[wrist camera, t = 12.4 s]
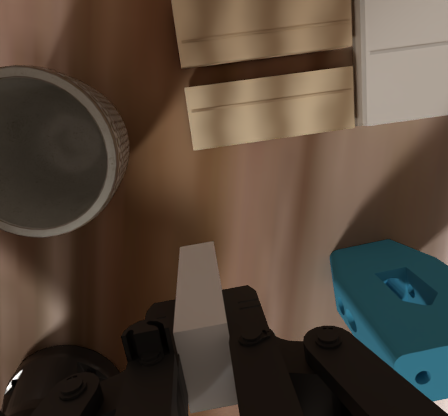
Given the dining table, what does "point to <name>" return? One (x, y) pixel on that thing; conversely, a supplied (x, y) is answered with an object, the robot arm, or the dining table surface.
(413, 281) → the block
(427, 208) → the dining table surface
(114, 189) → the planter
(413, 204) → the dining table surface
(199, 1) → the plank
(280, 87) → the plank
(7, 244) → the dining table surface
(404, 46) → the floor board
